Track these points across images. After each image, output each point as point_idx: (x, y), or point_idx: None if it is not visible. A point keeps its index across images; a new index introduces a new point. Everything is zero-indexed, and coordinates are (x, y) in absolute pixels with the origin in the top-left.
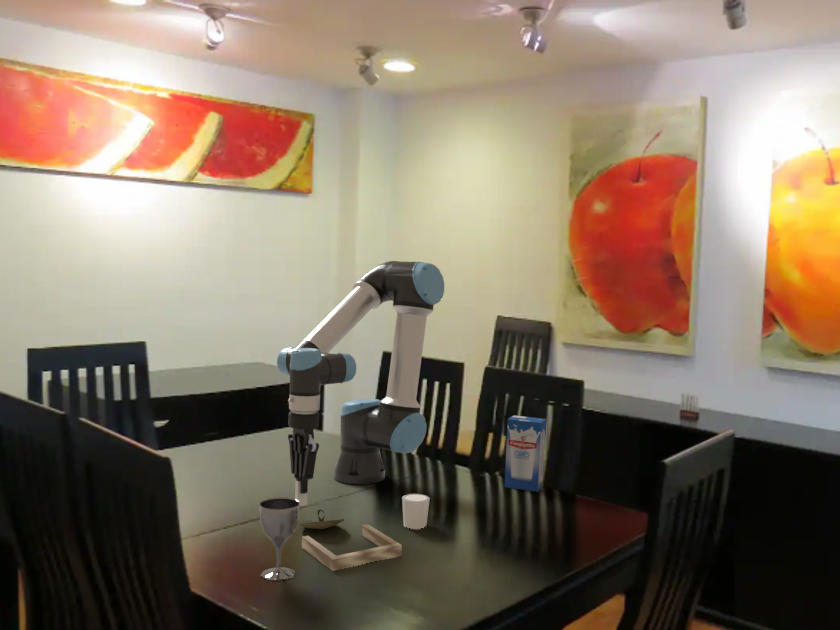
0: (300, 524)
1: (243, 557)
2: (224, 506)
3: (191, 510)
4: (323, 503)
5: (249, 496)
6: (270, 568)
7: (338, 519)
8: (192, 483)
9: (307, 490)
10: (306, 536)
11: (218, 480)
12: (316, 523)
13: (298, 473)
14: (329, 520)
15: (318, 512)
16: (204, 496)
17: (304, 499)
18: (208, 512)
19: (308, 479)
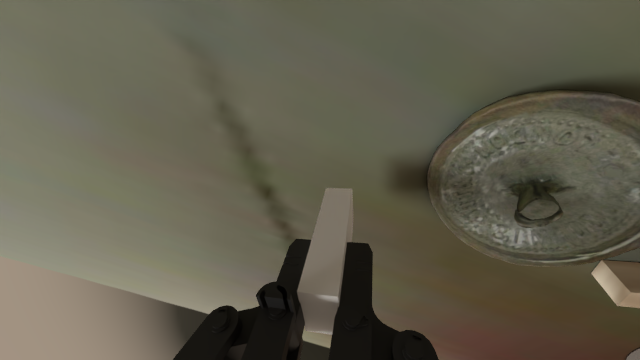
0: (489, 254)
1: (515, 352)
2: (195, 271)
3: (212, 310)
4: (197, 13)
5: (119, 210)
6: (632, 356)
7: (574, 112)
8: (43, 259)
9: (372, 255)
10: (632, 298)
11: (2, 218)
12: (599, 256)
13: (287, 352)
14: (487, 123)
15: (522, 220)
16: (127, 272)
17: (350, 217)
18: (229, 299)
19: (393, 332)
